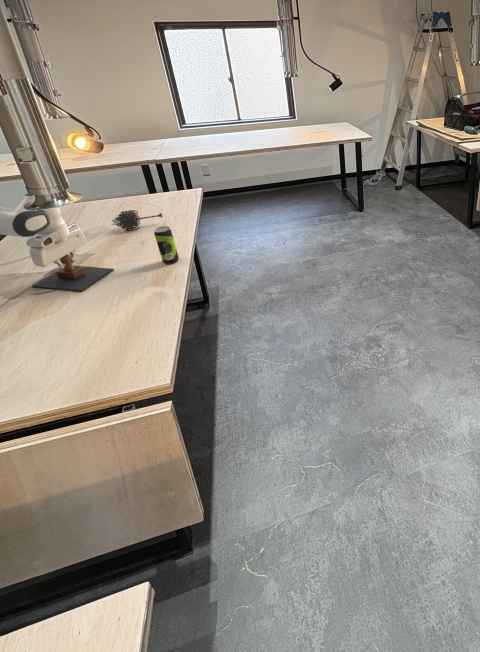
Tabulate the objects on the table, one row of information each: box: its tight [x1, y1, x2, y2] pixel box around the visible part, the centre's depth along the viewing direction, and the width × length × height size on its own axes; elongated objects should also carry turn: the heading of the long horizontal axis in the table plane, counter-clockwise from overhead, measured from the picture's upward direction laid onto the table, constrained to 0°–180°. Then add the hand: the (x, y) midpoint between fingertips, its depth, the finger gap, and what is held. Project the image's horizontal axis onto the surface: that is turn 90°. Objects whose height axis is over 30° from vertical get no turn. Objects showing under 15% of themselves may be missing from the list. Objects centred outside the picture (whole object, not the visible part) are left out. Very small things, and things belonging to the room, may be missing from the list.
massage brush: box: [111, 209, 163, 231], centre depth 203 cm, size 9×22×9 cm, turn 113°
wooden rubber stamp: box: [55, 254, 85, 280], centre depth 160 cm, size 8×4×9 cm, turn 78°
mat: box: [31, 265, 115, 293], centre depth 162 cm, size 22×16×1 cm
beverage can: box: [153, 225, 180, 265], centre depth 170 cm, size 6×6×15 cm
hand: (67, 264), depth 160 cm, fingers closed on wooden rubber stamp, 3 cm apart
